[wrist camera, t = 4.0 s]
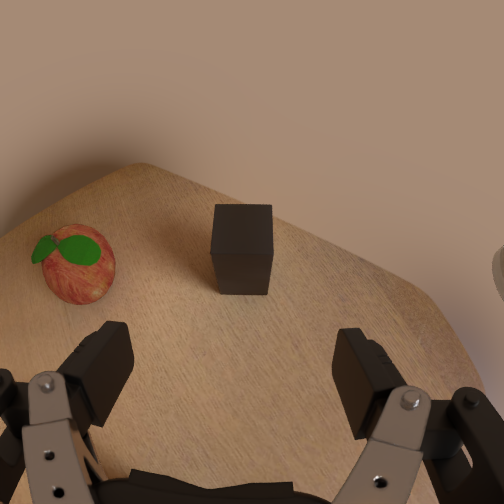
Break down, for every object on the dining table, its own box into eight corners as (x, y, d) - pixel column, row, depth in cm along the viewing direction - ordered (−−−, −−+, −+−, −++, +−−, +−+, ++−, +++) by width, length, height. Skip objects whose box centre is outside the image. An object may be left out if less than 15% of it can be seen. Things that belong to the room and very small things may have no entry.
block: (266, 254, 33) (272, 204, 25) (267, 295, 30) (273, 254, 23) (222, 253, 33) (215, 203, 25) (220, 294, 30) (210, 253, 23)
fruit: (79, 245, 33) (42, 199, 25) (139, 255, 33) (107, 203, 24) (57, 305, 29) (8, 269, 20) (117, 323, 28) (71, 288, 20)
